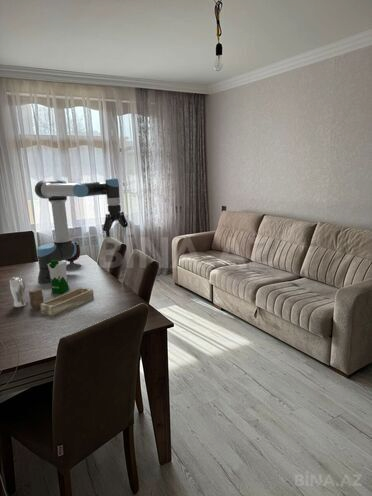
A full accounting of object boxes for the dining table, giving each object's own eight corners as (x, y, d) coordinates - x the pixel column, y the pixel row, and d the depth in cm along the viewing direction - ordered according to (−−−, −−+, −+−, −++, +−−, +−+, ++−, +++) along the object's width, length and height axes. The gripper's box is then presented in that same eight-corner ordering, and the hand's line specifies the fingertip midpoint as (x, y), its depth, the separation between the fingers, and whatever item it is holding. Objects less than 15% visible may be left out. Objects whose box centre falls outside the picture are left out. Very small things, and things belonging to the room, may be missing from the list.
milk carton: (49, 294, 203) (45, 261, 198) (59, 288, 211) (55, 257, 206) (61, 295, 200) (57, 261, 195) (71, 290, 208) (68, 257, 204)
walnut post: (31, 309, 181) (28, 291, 178) (38, 306, 184) (36, 288, 182) (37, 310, 178) (34, 292, 176) (44, 307, 182) (41, 289, 180)
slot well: (41, 313, 175) (39, 304, 174) (81, 295, 198) (80, 287, 197) (53, 316, 170) (52, 307, 169) (93, 298, 193) (92, 289, 192)
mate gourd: (78, 268, 255) (75, 241, 250) (59, 269, 255) (56, 242, 250) (84, 262, 270) (81, 237, 265) (66, 263, 270) (63, 238, 265)
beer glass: (16, 303, 190) (12, 277, 187) (29, 302, 191) (25, 276, 187) (11, 308, 183) (6, 281, 180) (24, 307, 184) (20, 280, 180)
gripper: (104, 207, 193) (107, 244, 198) (132, 202, 215) (134, 236, 219) (94, 207, 197) (97, 243, 202) (122, 202, 218) (125, 235, 223)
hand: (117, 239), depth 211 cm, fingers open, 13 cm apart
